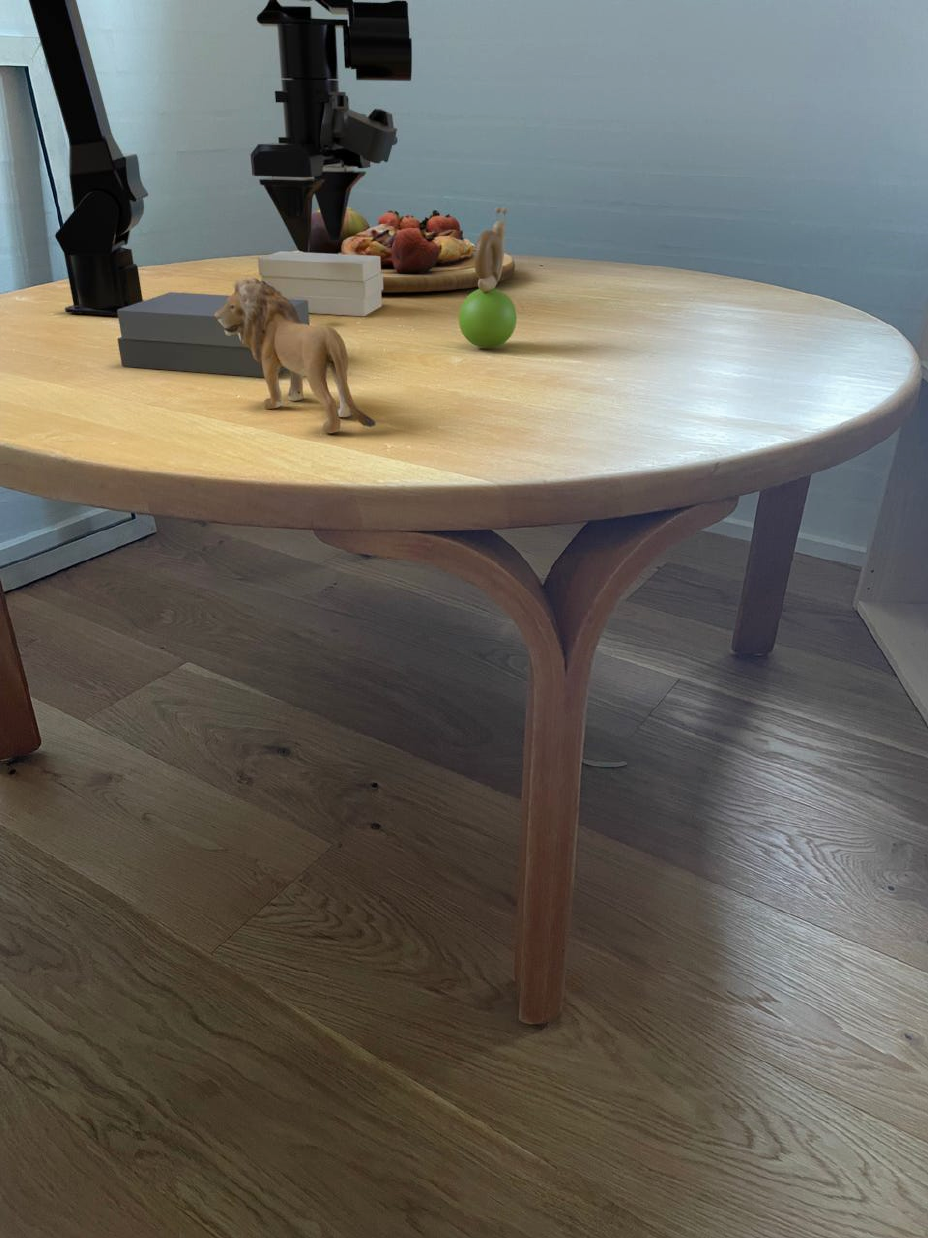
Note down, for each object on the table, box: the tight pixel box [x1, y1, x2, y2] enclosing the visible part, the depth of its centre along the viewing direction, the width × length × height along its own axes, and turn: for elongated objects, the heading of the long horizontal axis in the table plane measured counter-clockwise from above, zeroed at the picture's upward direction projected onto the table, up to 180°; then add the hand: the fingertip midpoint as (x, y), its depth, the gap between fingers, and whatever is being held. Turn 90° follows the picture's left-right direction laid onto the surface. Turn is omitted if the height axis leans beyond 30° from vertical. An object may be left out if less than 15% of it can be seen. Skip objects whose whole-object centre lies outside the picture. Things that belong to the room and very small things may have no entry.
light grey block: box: [260, 273, 383, 317], centre depth 103 cm, size 12×6×4 cm, turn 76°
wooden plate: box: [292, 206, 516, 293], centre depth 122 cm, size 32×32×8 cm
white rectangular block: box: [257, 250, 381, 282], centre depth 101 cm, size 12×6×2 cm, turn 76°
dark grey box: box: [117, 291, 311, 379], centre depth 81 cm, size 14×9×5 cm, turn 76°
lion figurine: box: [215, 277, 376, 434], centre depth 66 cm, size 15×5×9 cm, turn 50°
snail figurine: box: [458, 206, 518, 349], centre depth 85 cm, size 5×6×12 cm
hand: (320, 245), depth 100 cm, fingers open, 9 cm apart
